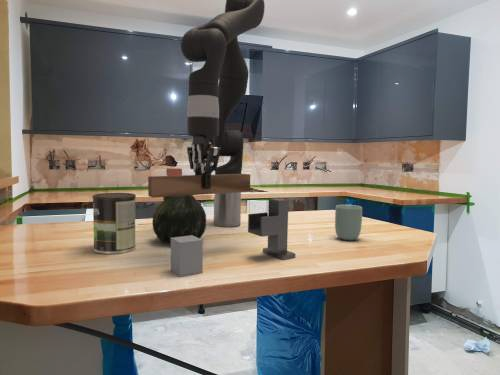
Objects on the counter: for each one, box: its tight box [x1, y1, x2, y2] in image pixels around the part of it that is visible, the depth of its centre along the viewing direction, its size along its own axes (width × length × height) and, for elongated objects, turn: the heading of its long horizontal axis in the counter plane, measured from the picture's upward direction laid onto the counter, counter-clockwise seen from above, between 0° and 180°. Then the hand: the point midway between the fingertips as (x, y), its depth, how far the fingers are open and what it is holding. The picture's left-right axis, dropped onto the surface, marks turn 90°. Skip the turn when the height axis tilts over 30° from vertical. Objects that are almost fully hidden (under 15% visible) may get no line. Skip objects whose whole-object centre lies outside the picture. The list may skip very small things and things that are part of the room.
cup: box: [334, 204, 363, 241], centre depth 110 cm, size 8×8×10 cm
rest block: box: [170, 235, 204, 277], centre depth 77 cm, size 5×5×7 cm
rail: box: [147, 173, 251, 198], centre depth 89 cm, size 3×26×4 cm, turn 124°
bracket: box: [247, 197, 296, 261], centre depth 89 cm, size 8×10×14 cm
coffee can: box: [92, 192, 137, 255], centre depth 94 cm, size 10×10×14 cm
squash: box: [152, 195, 207, 243], centre depth 104 cm, size 14×15×15 cm
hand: (202, 187), depth 89 cm, fingers closed on rail, 3 cm apart
